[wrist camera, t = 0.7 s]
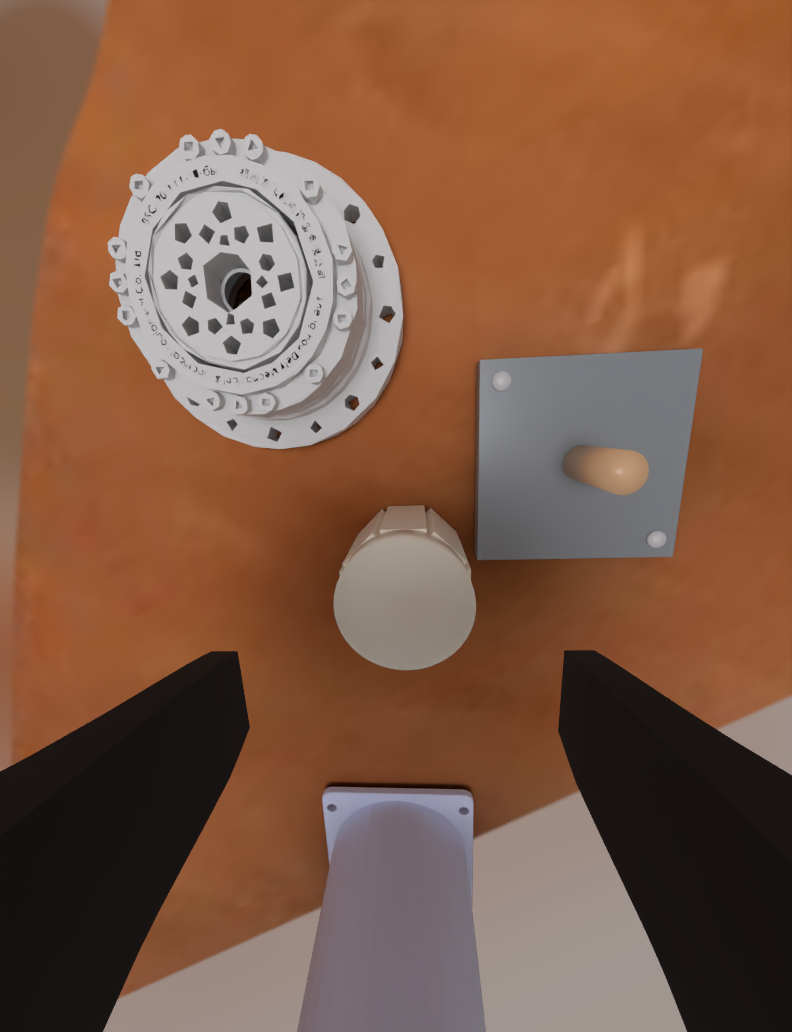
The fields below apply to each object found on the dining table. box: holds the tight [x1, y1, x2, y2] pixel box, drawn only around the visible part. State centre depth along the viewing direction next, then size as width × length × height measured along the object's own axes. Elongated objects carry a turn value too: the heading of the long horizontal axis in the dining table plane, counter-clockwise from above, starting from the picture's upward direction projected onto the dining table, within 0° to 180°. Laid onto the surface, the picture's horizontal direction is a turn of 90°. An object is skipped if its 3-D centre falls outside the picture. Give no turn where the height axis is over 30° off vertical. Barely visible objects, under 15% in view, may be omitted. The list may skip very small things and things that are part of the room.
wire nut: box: [334, 505, 476, 670], centre depth 14 cm, size 5×5×5 cm
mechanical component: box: [108, 129, 403, 449], centre depth 13 cm, size 10×4×10 cm
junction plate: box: [475, 349, 703, 560], centre depth 13 cm, size 8×8×4 cm
